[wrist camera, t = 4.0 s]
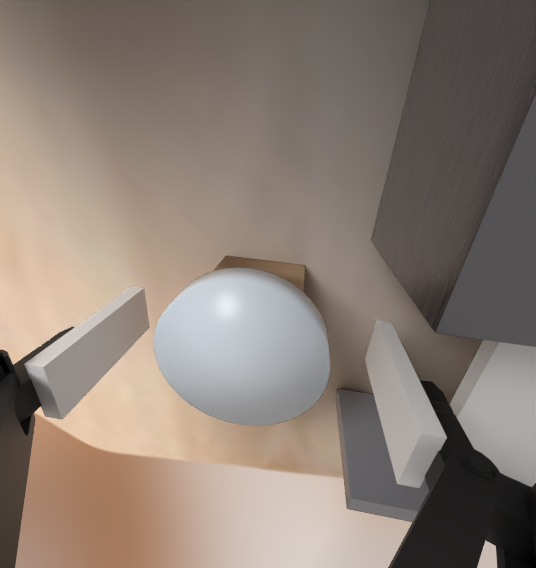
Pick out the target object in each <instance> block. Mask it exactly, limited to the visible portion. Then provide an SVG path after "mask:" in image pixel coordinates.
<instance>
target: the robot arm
mask: <svg viewBox="0 0 536 568" xmlns="http://www.w3.org/2000/svg"><path fill="white" fill-rule="evenodd" d="M148 328H149V320H148V313H147V305H146V298H145V291H144V288H141V287H134V286H131V287H130V288H129V289H127V290H126V291H124V292H123V293H122V294H120V295H119V296H117V297H116V298H115V299H113V300H112V301H111V302H109V303H108V304H106V305H105V306H104V307H102V308H101V309H100V310H98V311H97V312H95V313H94V314H93V315H91V316H90V317H88V318H87V319H86V320H84V321H83V322H82V323H80V324H79V325H77V326H76V327H71V328H69V329H66V330H64V331H62V332H60V333H58V334H57V335H55V336H54V337H53V338H51V339H50V341H47V342H45V343H44V344H42V346H41V347H38V348H37V349H35V350H34V351H32V352H31V353H30V354H28V355H27V356H25V357H24V358H22V359H21V360H20V361H18V362H17V363H15V364H14V365H13V364H12V362H11V359H10V357H9V355H8V352H6V351H4V350H0V568H15V563H16V556H17V548H18V541H19V534H20V527H21V519H22V512H23V505H24V498H25V491H26V483H27V476H28V469H29V462H30V454H31V447H32V440H33V433H34V426H35V416H34V412H35V411H36V410H37V409H38V408H39V407H40V406H41V407H42V410H43V412H44V415H45V416H46V417H52V418H57V419H63V418H64V417H65V416H66V415H67V414H68V413H69V412H70V411H71V410H72V409H73V408H74V407H75V406H76V405H77V404H78V402H79V401H80V400H81V399H82V398H83V397H84V396H85V395H86V394H87V393H88V392H89V391H90V390H91V389H92V388H93V387H94V386H95V385H96V383H97V382H98V381H99V380H100V379H101V378H102V377H103V376H104V375H105V374H106V373H107V372H108V371H109V370H110V369H111V368H112V367H113V365H114V364H115V363H116V362H117V361H118V360H119V359H120V358H121V357H122V356H123V355H124V354H125V353H126V352H127V351H128V350H129V349H130V348H131V346H132V345H133V344H134V343H135V342H136V341H137V340H138V339H139V338H140V337H141V336H142V335H143V334H144V333H145V332H146V331H147V330H148ZM365 363H366V367H367V371H368V375H369V379H370V382H371V386H372V390H373V394H374V398H375V401H376V405H377V409H378V413H379V417H380V421H381V424H382V428H383V432H384V436H385V440H386V443H387V447H388V451H389V455H390V459H391V463H392V466H393V470H394V474H395V478H396V482H397V484H400V485H405V486H410V487H415V488H420V486H421V484H422V483H423V481H424V479H425V480H426V483H427V486H428V489H429V493H428V494H427V496H426V498H425V500H424V501H423V503H422V505H421V507H420V509H419V511H418V513H417V515H416V517H415V519H414V521H413V522H412V524H411V526H410V528H409V530H408V532H407V534H406V536H405V538H404V539H403V541H402V543H401V545H400V547H399V549H398V551H397V553H396V555H395V556H394V558H393V560H392V562H391V564H390V566H389V567H388V568H477V565H478V562H479V559H480V556H481V552H482V549H483V546H484V543H485V540H486V541H488V542H490V543H492V544H494V545H495V546H496V553H497V568H536V483H535V484H534V485H533V486H532V487H530V486H528V485H526V484H523V483H521V482H519V481H517V480H514V479H512V478H510V477H508V476H506V475H504V474H502V473H500V472H499V470H498V468H497V467H496V466H495V465H494V463H493V462H492V461H491V460H490V459H489V458H487V457H486V456H485V455H484V454H482V453H481V452H479V451H477V450H475V449H474V448H473V446H472V444H471V442H470V441H469V439H468V437H467V435H466V433H465V432H464V430H463V428H462V426H461V424H460V423H459V421H458V419H457V417H456V415H455V414H453V410H452V408H451V407H450V405H448V401H447V399H446V398H445V396H444V394H443V392H442V391H441V390H440V389H439V388H438V387H437V386H436V385H435V384H434V383H433V382H429V381H422V380H419V378H418V376H417V374H416V372H415V370H414V368H413V366H412V364H411V362H410V360H409V358H408V356H407V353H406V351H405V349H404V347H403V345H402V343H401V341H400V339H399V337H398V335H397V333H396V331H395V329H394V327H393V324H392V322H389V321H382V320H376V323H375V326H374V330H373V333H372V337H371V340H370V343H369V347H368V350H367V354H366V357H365Z"/></svg>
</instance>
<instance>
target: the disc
mask: <svg viewBox="0 0 536 568" xmlns="http://www.w3.org/2000/svg"><path fill="white" fill-rule="evenodd" d="M154 351H155V356H156V360H157V363H158V365H159V368H160V370H161V372H162V374H163V376H164V377H165V379H166V380H167V382H168V383H169V385H170V386H171V387H172V388H173V389H174V390H175V392H176V393H178V394H179V395H180V396H181V397H182V398H183V399H184V400H185V401H187V402H188V403H189V404H191V405H192V406H194V407H195V408H197V409H198V410H200V411H202V412H204V413H206V414H208V415H210V416H213V417H215V418H217V419H221V420H224V421H227V422H231V423H236V424H242V425H256V426H258V425H270V424H277V423H281V422H285V421H288V420H290V419H293V418H295V417H297V416H299V415H301V414H303V413H304V412H305V411H307V410H308V409H310V408H311V407H312V406H313V405H314V404H315V403H316V402H317V401H318V399H319V398H320V397H321V395H322V394H323V392H324V390H325V388H326V386H327V383H328V380H329V375H330V354H329V344H328V335H327V330H326V326H325V323H324V320H323V318H322V316H321V314H320V312H319V311H318V309H317V307H316V306H315V305H314V303H313V302H312V301H311V300H310V299H309V298H308V297H307V296H306V295H305V294H304V292H302V291H301V290H300V289H298V288H297V287H296V286H295V285H293V284H291V283H290V282H288V281H286V280H285V279H283V278H281V277H278V276H276V275H274V274H271V273H268V272H265V271H261V270H256V269H251V268H226V269H221V270H216V271H213V272H210V273H207V274H205V275H203V276H201V277H199V278H197V279H196V280H194V281H193V282H192V283H190V284H189V285H188V286H187V287H186V288H185V289H184V290H183V291H182V292H181V293H180V294H179V295H178V296H177V297H176V298H175V299H174V301H173V302H172V303H171V304H170V305H169V306H168V307H167V308H166V310H165V311H164V312H163V314H162V315H161V317H160V319H159V321H158V323H157V326H156V330H155V335H154Z"/></svg>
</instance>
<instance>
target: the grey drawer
mask: <svg viewBox="0 0 536 568" xmlns="http://www.w3.org/2000/svg"><path fill="white" fill-rule="evenodd" d="M449 405H450V407H451V408H452V410H453V414H455V415H456V417H457V419H458V421H459V423H460V424H461V426H462V428H463V430H464V432H465V433H466V435H467V437H468V439H469V441H470V442H471V444H472V446H473V448H474V449H475V450H477V451H479V452H481V453H482V454H484V455H485V456H486V457H487V458H489V459H490V460H491V461H492V462H493V463H494V465H495V466H496V467H497V468H498V470H499V472H500V473H502V474H504V475H506V476H508V477H510V478H512V479H514V480H517V481H519V482H521V483H523V484H526V485H528V486H530V487H532V486H533V485H534V484H535V483H536V347H532V346H525V345H517V344H510V343H503V342H496V341H488V340H483V341H482V343H481V345H480V347H479V349H478V351H477V353H476V355H475V357H474V358H473V360H472V362H471V364H470V366H469V368H468V370H467V372H466V374H465V376H464V378H463V380H462V381H461V383H460V385H459V387H458V389H457V391H456V393H455V395H454V397H453V399H452V401H451V403H450V404H449ZM336 406H337V416H338V426H339V435H340V445H341V455H342V465H343V475H344V485H345V495H346V504H347V509H350V510H355V511H360V512H365V513H371V514H375V515H380V516H385V517H390V518H395V519H400V520H405V521H410V522H413V521H414V519H415V517H416V515H417V513H418V511H419V509H420V507H421V505H422V503H423V501H424V500H425V498H426V496H427V494H428V493H429V489H428V486H427V483H426V480H425V479H424V481H423V483H422V484H421V486H420V488H415V487H410V486H405V485H400V484H397V482H396V478H395V474H394V470H393V466H392V463H391V459H390V455H389V451H388V447H387V443H386V440H385V436H384V432H383V428H382V424H381V421H380V417H379V413H378V409H377V405H376V401H375V398H374V394H368V393H361V392H355V391H349V390H343V389H338V392H337V395H336Z"/></svg>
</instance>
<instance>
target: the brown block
mask: <svg viewBox="0 0 536 568" xmlns="http://www.w3.org/2000/svg"><path fill="white" fill-rule="evenodd" d="M226 268H251V269H256V270H261V271H265V272H268V273H271V274H274V275H276V276H278V277H281V278H283V279H285V280H286V281H288V282H290V283H291V284H293V285H295V286H296V287H297V288H298V289H300V290H301V291H302V292H304V276H305V265H298V264H290V263H282V262H274V261H265V260H257V259H249V258H240V257H232V256H225V257H224V259H223V260H222V261H221V262H220V264H219V265H218V266H217V267H216V268H215V270H214V271H216V270H221V269H226Z"/></svg>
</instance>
